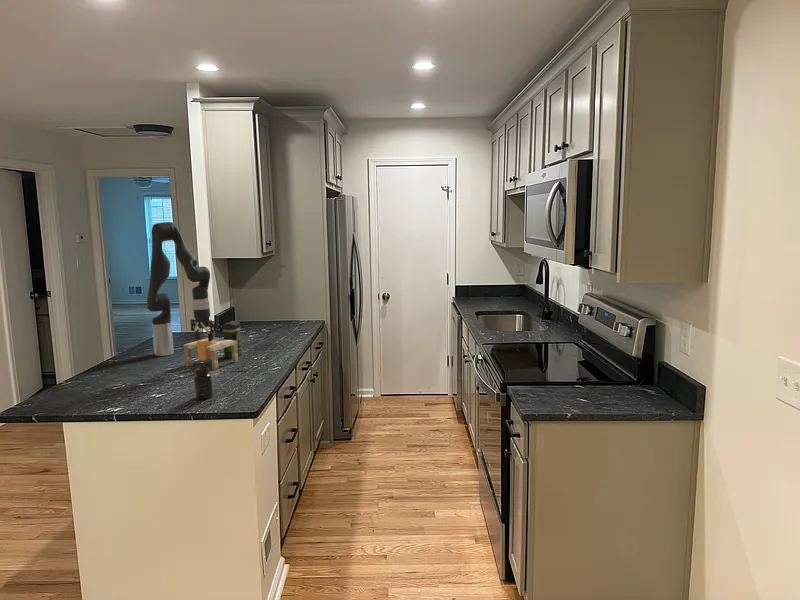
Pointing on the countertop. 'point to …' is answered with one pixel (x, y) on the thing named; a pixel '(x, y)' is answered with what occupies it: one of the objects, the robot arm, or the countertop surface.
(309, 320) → the countertop surface
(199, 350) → the tan wooden post
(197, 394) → the supplement bottle
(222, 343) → the cream u-shaped stand
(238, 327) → the coffee jar
